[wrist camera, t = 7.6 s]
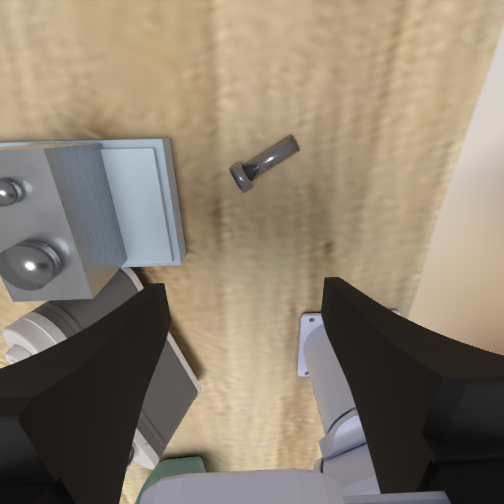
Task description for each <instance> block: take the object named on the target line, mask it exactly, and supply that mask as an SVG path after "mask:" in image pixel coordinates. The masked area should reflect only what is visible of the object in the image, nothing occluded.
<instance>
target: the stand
mask: <svg viewBox="0 0 504 504" xmlns="http://www.w3.org/2000/svg"><path fill="white" fill-rule="evenodd" d="M79 143H99V146H100V150H101V154H102V158H103V162H104V166H105V170H106V174H107V178H108V182H109V186H110V190H111V194H112V198H113V202H114V207H115V211H116V215H117V219H118V223H119V227H120V231H121V235H122V239H123V243H124V247H125V251H126V255H127V259H128V260H127V261H126V262H125V263H124V264H123V265H122V266H121V267H143V266H172V265H182V262H183V260H184V258H185V256H186V249H185V242H184V235H183V228H182V220H181V213H180V206H179V199H178V192H177V185H176V178H175V171H174V164H173V156H172V149H171V142H170V138H148V139H109V140H70V141H31V142H0V147H4V146H17V145H42V144H79Z"/></svg>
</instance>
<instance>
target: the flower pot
mask: <svg viewBox="0 0 504 504" xmlns="http://www.w3.org/2000/svg"><path fill="white" fill-rule="evenodd" d="M191 473H206V470H205V467H204V464H203V461H202V458H201V457H198V456H197V457H187V458H178V459H167V460H163V461H162V462H161V463H160V464H159V465H158V466H157V467H156V468H155V470H154V471H153V472H152V473H151V475H150V476H149V477H148V479H147V480H146V482H145V484H144V485H143V487H142V489H141V491H140V493H139V495H138V497H137V500H136V502H135V504H140V500H141V496H142V493H143V492H144V491H146V490H147V489H148V488H150V487H151V486H152V485H154V484H155V483H157V482H158V481H159V480H161V479H162V478H166V477H171V476H176V475H181V474H191Z"/></svg>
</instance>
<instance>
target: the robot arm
mask: <svg viewBox="0 0 504 504" xmlns="http://www.w3.org/2000/svg"><path fill="white" fill-rule="evenodd" d="M310 318H313V319H311V320H310ZM170 323H171V317H170V312H169V306H168V301H167V296H166V290H165V285H164V283H156V284H149V285H148V286H146V287H145V288H143V289H142V290H140V291H139V292H138V293H136V294H135V295H134V296H132V297H131V298H130V299H128V300H127V301H126V302H124V303H123V304H121V305H120V306H119V307H117V308H116V309H114V310H113V311H111V312H110V313H109V314H107V315H106V316H104V317H103V318H101V319H100V320H98V321H97V322H95V323H93V324H92V325H90V326H89V327H87V328H85V329H84V330H82V331H80V332H78V333H77V334H75V335H73V336H71V337H69V338H67V339H66V340H64V341H62V342H59V343H57V344H55V345H53V346H51V347H49V348H47V349H45V350H43V351H41V352H39V353H37V354H35V355H32V356H30V357H28V358H25V359H23V360H21V361H18V362H16V363H14V364H11V365H9V366H6V367H4V368H1V369H0V504H119V501H120V497H121V492H122V487H123V482H124V478H125V473H126V469H127V465H128V460H129V456H130V452H131V447H132V443H133V439H134V436H135V432H136V428H137V424H138V420H139V416H140V413H141V409H142V406H143V402H144V398H145V395H146V392H147V389H148V386H149V384H150V381H151V379H152V376H153V374H154V371H155V369H156V366H157V363H158V361H159V358H160V356H161V353H162V351H163V348H164V345H165V343H166V340H167V336H168V332H169V327H170ZM307 371H308V372H307ZM297 373H298V375H299V376H310V379H311V383H312V387H313V390H314V394H315V398H316V402H317V405H318V409H319V413H320V416H321V420H322V424H323V428H324V431H325V435H326V436H325V437H323V438H322V439H320V440H319V445H320V449H321V453H322V457H323V458H320V459H318V460H317V461H315V463H314V466H313V470H306V469H296V468H294V469H274V470H253V471H232V472H212V473H191V474H181V475H176V476H171V477H166V478H162V479H161V480H159V481H158V482H157V483H155V484H154V485H152V486H151V487H150V488H148V489H147V490H146V491H144V492H143V493H142V496H141V500H140V504H504V356H503V355H499V354H495V353H492V352H489V351H486V350H482V349H480V348H477V347H474V346H470V345H468V344H465V343H462V342H459V341H456V340H454V339H451V338H448V337H446V336H443V335H441V334H438V333H436V332H433V331H431V330H429V329H426V328H424V327H422V326H420V325H418V324H416V323H414V322H412V321H410V320H408V319H406V318H404V317H402V316H401V314H400V312H399V311H397V310H389V309H387V308H386V307H384V306H382V305H381V304H379V303H377V302H376V301H374V300H373V299H371V298H369V297H368V296H366V295H365V294H363V293H362V292H360V291H359V290H357V289H356V288H355V287H353V286H352V285H350V284H349V283H347V282H346V281H344V280H343V279H341V278H339V277H325V280H324V290H323V299H322V308H321V313H310V314H303V315H302V316H301V319H300V334H299V349H298V363H297Z"/></svg>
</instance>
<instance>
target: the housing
mask: <svg viewBox="0 0 504 504" xmlns="http://www.w3.org/2000/svg"><path fill="white" fill-rule="evenodd" d="M127 260H128V259H127V255H126V251H125V247H124V243H123V239H122V235H121V231H120V227H119V223H118V219H117V215H116V211H115V207H114V202H113V198H112V194H111V190H110V186H109V182H108V178H107V174H106V170H105V166H104V162H103V158H102V154H101V150H100V146H99V143H79V144H42V145H17V146H4V147H0V276H1V278H2V280H3V282H4V284H5V286H6V288H7V290H8V292H9V294H10V296H11V298H12V301H13V302H18V301H46V300H73V299H93V298H94V297H95V296H96V295H97V294H98V293H99V292H100V290H101V289H102V288H103V287H104V286H105V285H106V284H107V282H108V281H109V280H110V279H111V278H112V277H113V276H114V274H115V273H116V272H117V271H118V270H119V269H120V268H121V266H122V265H123V264H124V263H125V262H126V261H127Z"/></svg>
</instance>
